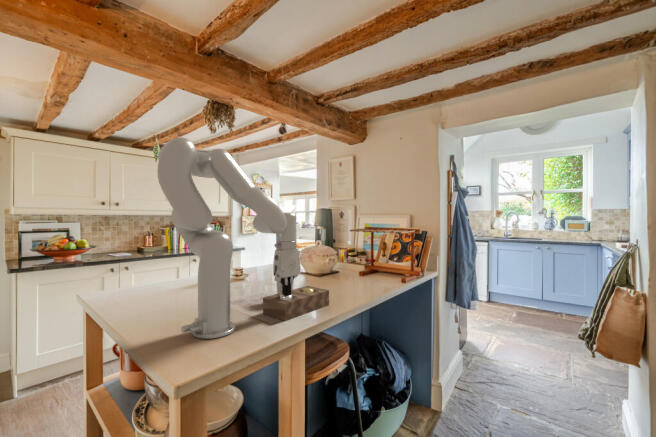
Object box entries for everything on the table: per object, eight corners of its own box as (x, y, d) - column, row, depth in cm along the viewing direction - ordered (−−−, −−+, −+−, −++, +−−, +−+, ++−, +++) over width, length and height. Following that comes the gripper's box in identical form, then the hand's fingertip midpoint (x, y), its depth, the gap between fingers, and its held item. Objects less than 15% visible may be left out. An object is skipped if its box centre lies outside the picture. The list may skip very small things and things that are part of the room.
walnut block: (284, 321, 100) (284, 303, 100) (262, 313, 108) (262, 297, 108) (329, 305, 119) (329, 290, 119) (307, 299, 127) (307, 285, 127)
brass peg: (308, 305, 115) (308, 291, 115) (300, 303, 118) (300, 289, 118) (315, 303, 118) (315, 289, 118) (307, 301, 121) (307, 287, 121)
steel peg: (285, 313, 106) (285, 297, 106) (277, 310, 109) (277, 295, 109) (294, 310, 109) (294, 294, 109) (286, 307, 112) (286, 292, 112)
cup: (293, 304, 120) (293, 275, 120) (273, 304, 120) (273, 275, 120) (295, 298, 128) (295, 271, 128) (277, 298, 128) (277, 271, 128)
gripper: (277, 248, 101) (278, 301, 101) (307, 244, 112) (307, 292, 112) (263, 246, 105) (264, 297, 106) (293, 243, 117) (294, 289, 117)
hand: (286, 294), depth 109 cm, fingers closed
